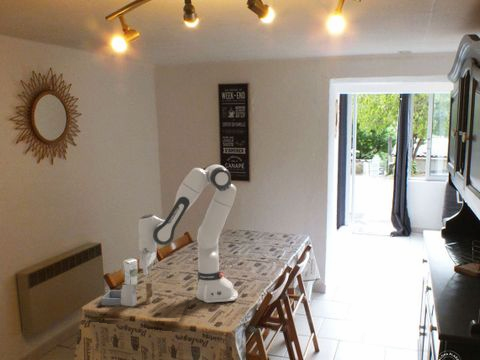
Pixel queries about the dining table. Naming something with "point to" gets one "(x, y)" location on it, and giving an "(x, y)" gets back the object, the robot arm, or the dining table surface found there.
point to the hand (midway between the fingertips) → (148, 272)
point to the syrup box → (130, 272)
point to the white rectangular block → (128, 295)
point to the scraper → (149, 292)
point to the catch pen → (111, 301)
